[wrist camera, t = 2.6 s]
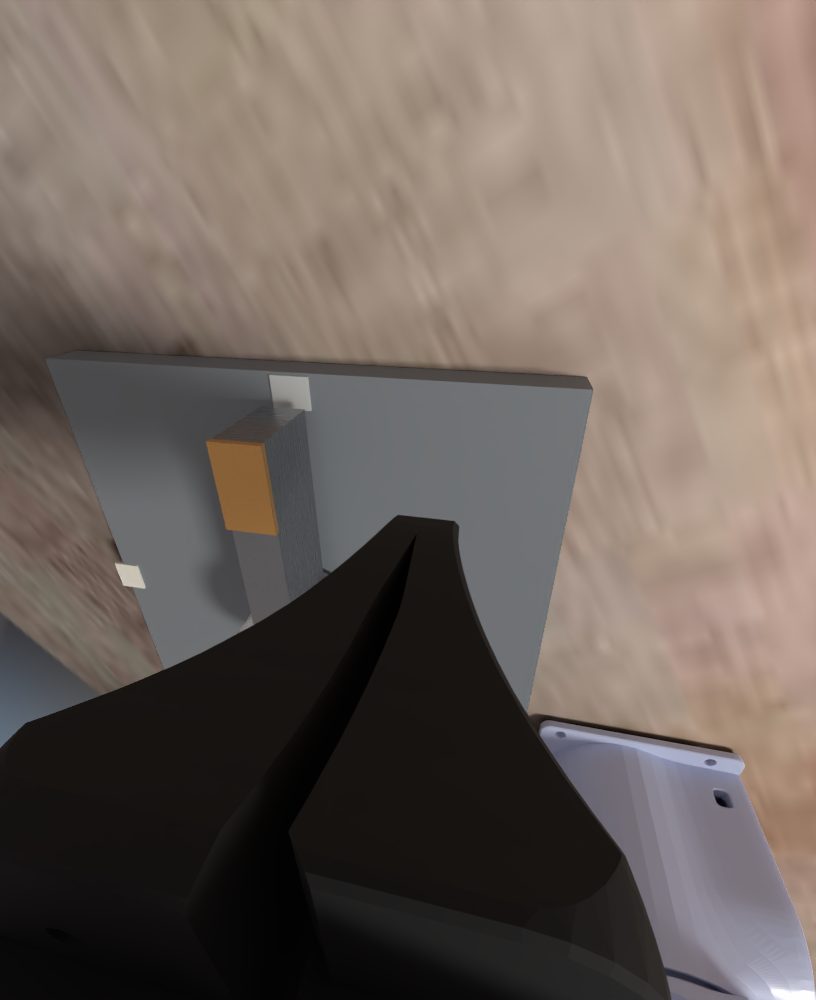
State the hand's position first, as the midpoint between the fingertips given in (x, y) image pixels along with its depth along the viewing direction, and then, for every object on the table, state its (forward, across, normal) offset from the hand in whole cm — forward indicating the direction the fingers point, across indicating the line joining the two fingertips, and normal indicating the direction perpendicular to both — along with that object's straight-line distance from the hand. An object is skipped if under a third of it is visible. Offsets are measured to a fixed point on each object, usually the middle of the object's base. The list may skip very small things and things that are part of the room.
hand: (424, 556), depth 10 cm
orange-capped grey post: (+7, +6, +5) cm, 10 cm away
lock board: (+8, +6, +9) cm, 13 cm away
